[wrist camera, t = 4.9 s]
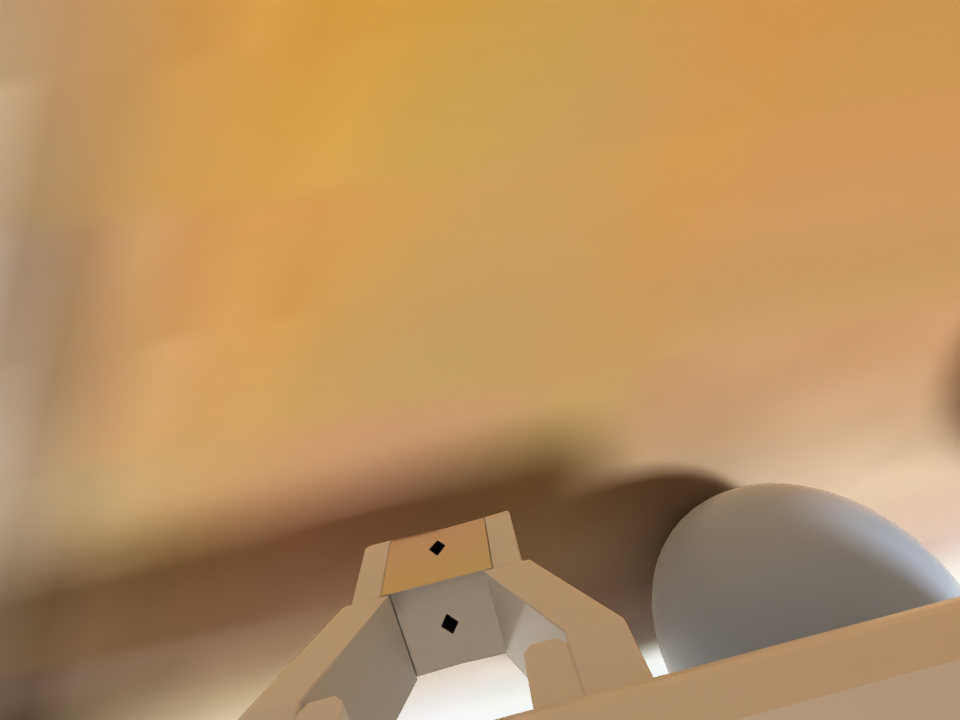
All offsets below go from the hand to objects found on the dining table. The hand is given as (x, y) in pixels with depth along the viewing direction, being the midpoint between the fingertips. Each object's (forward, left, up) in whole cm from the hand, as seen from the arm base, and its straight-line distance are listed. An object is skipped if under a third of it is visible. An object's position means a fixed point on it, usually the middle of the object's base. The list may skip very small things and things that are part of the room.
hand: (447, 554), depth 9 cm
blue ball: (0, +7, +1) cm, 7 cm away
